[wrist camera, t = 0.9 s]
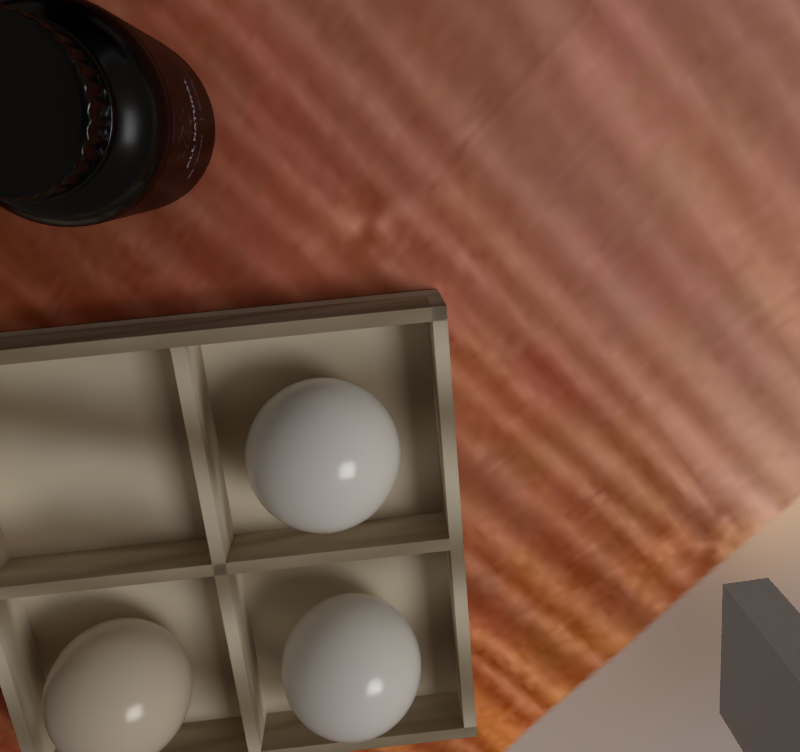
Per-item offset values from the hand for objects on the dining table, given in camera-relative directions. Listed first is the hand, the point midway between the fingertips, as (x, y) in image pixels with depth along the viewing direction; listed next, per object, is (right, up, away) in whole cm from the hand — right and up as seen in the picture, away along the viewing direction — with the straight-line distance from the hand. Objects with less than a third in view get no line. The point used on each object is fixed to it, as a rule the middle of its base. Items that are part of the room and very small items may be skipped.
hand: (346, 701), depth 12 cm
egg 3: (-2, -7, +24) cm, 25 cm away
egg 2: (-2, +3, +21) cm, 21 cm away
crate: (-7, -2, +23) cm, 24 cm away
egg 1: (-12, -8, +24) cm, 28 cm away
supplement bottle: (-10, +16, +18) cm, 26 cm away
